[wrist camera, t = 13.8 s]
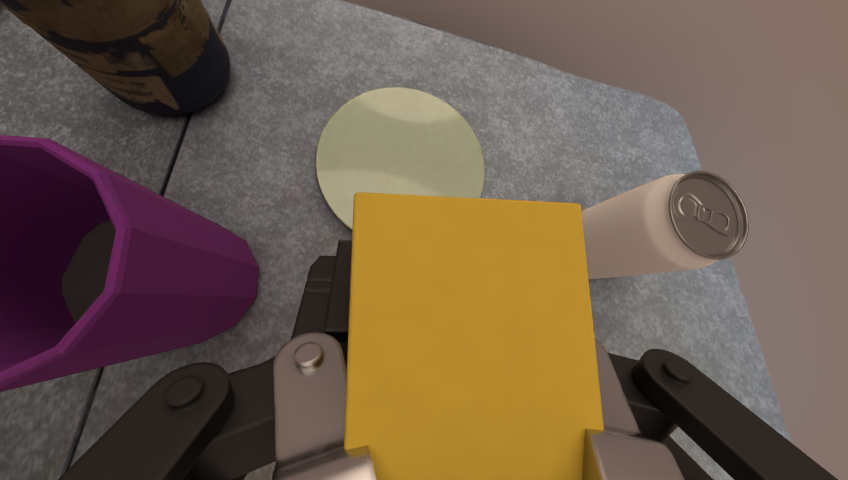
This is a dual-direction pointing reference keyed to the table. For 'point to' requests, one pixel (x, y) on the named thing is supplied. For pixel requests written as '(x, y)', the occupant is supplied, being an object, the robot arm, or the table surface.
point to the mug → (104, 267)
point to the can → (665, 226)
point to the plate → (397, 150)
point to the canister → (137, 48)
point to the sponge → (470, 339)
